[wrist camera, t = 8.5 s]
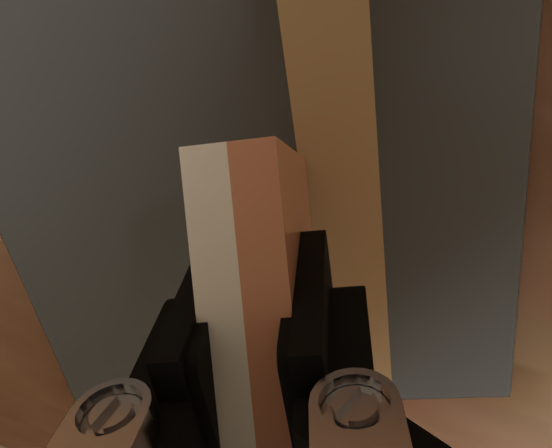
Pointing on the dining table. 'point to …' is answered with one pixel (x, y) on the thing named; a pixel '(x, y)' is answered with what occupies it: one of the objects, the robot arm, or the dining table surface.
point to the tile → (245, 274)
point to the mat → (296, 134)
